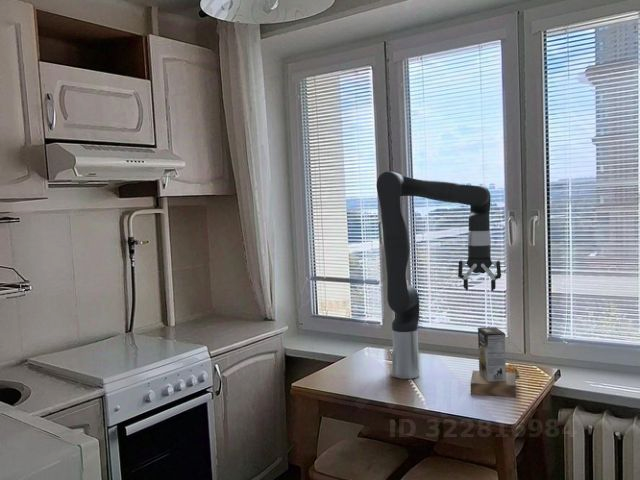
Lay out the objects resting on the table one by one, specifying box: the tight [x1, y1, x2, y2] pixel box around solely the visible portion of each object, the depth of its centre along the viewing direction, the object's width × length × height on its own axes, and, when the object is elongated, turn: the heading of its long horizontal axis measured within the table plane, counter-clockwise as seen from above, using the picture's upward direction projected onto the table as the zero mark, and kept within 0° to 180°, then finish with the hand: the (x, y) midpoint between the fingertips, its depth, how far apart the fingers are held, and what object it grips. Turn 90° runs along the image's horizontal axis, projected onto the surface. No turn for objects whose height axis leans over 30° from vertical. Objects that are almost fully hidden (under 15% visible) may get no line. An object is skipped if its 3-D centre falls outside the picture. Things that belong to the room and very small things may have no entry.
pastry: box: [505, 364, 520, 378], centre depth 199 cm, size 9×7×4 cm
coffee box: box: [477, 326, 506, 382], centre depth 186 cm, size 9×6×16 cm
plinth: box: [470, 370, 517, 399], centre depth 187 cm, size 14×14×4 cm
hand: (479, 290), depth 194 cm, fingers open, 8 cm apart
